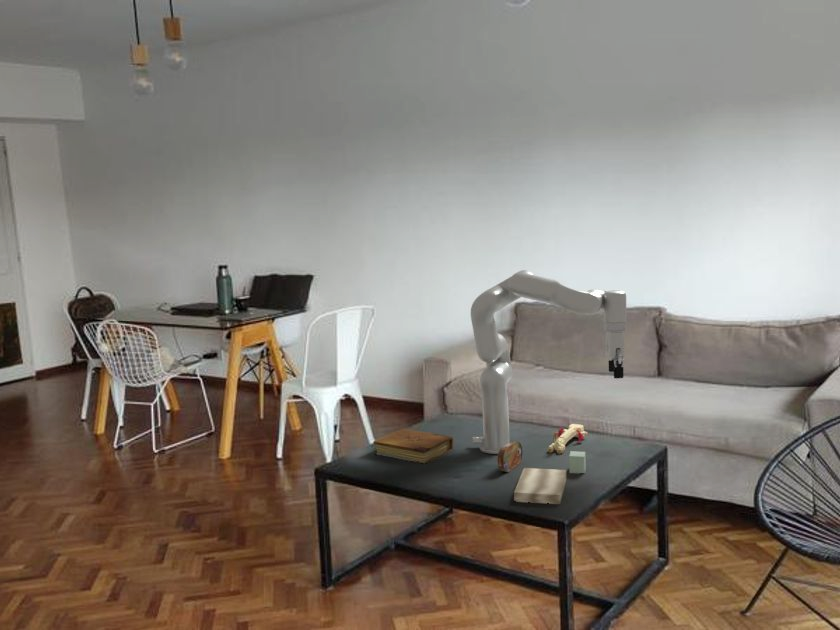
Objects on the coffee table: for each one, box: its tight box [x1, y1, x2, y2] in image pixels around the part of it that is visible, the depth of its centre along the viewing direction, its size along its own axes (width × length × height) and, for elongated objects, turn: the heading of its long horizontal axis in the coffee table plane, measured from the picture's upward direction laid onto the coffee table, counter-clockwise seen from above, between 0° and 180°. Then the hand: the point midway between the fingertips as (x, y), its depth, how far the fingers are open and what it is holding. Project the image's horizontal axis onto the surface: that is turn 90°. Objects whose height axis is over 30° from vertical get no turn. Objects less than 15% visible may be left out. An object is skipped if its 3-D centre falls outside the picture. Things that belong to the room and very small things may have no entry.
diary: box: [373, 428, 454, 464], centre depth 304 cm, size 23×19×6 cm
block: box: [568, 450, 587, 474], centre depth 276 cm, size 5×5×6 cm
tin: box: [497, 441, 523, 473], centre depth 282 cm, size 15×3×8 cm, turn 148°
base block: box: [513, 467, 567, 505], centre depth 261 cm, size 14×22×3 cm, turn 165°
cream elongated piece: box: [547, 423, 588, 455], centre depth 305 cm, size 10×9×25 cm
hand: (615, 374), depth 284 cm, fingers open, 9 cm apart
